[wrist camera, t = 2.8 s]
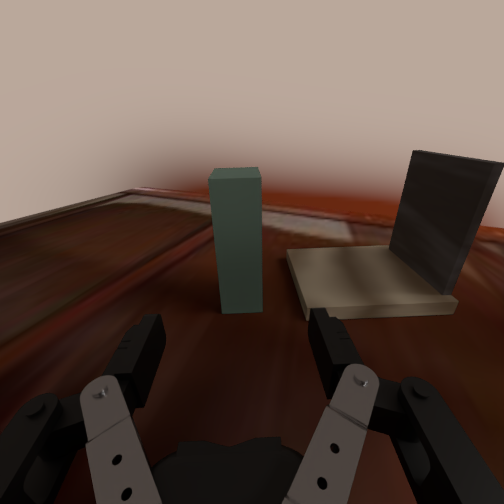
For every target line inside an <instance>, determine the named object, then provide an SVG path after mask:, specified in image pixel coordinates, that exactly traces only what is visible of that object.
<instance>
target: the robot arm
mask: <svg viewBox="0 0 504 504" xmlns="http://www.w3.org/2000/svg"><path fill="white" fill-rule="evenodd" d="M308 337H309V342H310V345H311V348H312V352H313V355H314V358H315V361H316V365H317V368H318V371H319V374H320V378H321V381H322V384H323V387H324V391H325V394H326V397H327V399H332V400H331V402H330V404H329V405H327V406H326V408H325V410H324V412H323V415H322V417H321V419H320V422H319V424H318V426H317V428H316V431H315V433H314V435H313V437H312V440H311V442H310V444H309V446H308V449H307V451H306V453H305V456H302V455H301V454H300V453H298V452H297V451H295V450H293V449H291V448H289V447H286V446H283V445H281V438H280V437H265V438H254V439H251V440H248V441H246V442H243V443H240V444H237V445H234V446H231V447H226V446H223V445H219V444H215V443H211V442H207V441H188V442H179V443H178V448H177V451H176V452H173V453H171V454H169V455H167V456H166V457H164V458H163V459H161V460H160V461H158V462H157V463H156V464H155V465H154V466H153V467H151V465H150V462H149V460H148V457H147V454H146V452H145V449H144V446H143V444H142V441H141V438H140V436H139V433H138V430H137V428H136V425H135V422H134V420H133V417H132V416H133V413H134V410H135V408H144V406H145V403H146V401H147V398H148V395H149V392H150V389H151V386H152V383H153V380H154V377H155V375H156V372H157V369H158V366H159V363H160V360H161V357H162V354H163V352H164V349H165V345H166V334H165V330H164V326H163V322H162V318H161V315H160V314H146V315H144V316H143V318H142V320H141V322H140V324H139V325H133V326H132V327H131V328H130V329H129V330H128V331H127V332H126V333H125V335H124V337H123V339H122V340H121V343H120V344H119V346H118V348H117V350H116V351H115V353H114V355H113V356H112V358H111V360H110V362H109V364H108V365H107V367H106V369H105V371H104V373H103V374H102V376H101V377H99V378H97V379H95V380H93V381H92V382H90V383H89V384H88V385H87V386H86V387H85V388H84V390H83V391H82V392H81V393H78V394H75V395H72V396H69V397H66V398H63V399H60V400H58V398H57V396H56V395H55V394H52V393H46V394H42V395H39V396H37V397H35V398H33V399H31V400H30V401H28V402H27V403H25V404H24V405H23V406H22V407H21V408H20V409H19V410H18V412H17V413H16V414H15V416H14V417H13V418H12V420H11V421H10V423H9V424H8V425H7V427H6V428H5V430H4V431H3V432H2V434H1V435H0V504H53V503H54V501H55V498H56V496H57V494H58V492H59V490H60V487H61V485H62V483H63V481H64V479H65V476H66V474H67V472H68V470H69V468H70V465H71V463H72V461H73V459H74V457H75V454H76V452H77V450H79V449H81V448H84V447H86V451H87V456H88V462H89V467H90V472H91V477H92V482H93V488H94V493H95V498H96V503H97V504H347V501H348V497H349V494H350V490H351V487H352V483H353V479H354V476H355V472H356V468H357V465H358V461H359V458H360V454H361V450H362V447H363V443H364V440H365V436H366V432H367V429H370V430H373V431H377V432H380V433H384V434H387V435H389V436H390V439H391V441H392V443H393V446H394V448H395V451H396V453H397V455H398V458H399V460H400V463H401V465H402V467H403V470H404V472H405V475H406V477H407V480H408V482H409V484H410V487H411V489H412V492H413V494H414V496H415V499H416V501H417V504H504V490H503V488H502V487H501V485H500V484H499V482H498V481H497V479H496V478H495V476H494V475H493V473H492V472H491V470H490V469H489V467H488V466H487V464H486V463H485V461H484V460H483V458H482V457H481V455H480V454H479V452H478V451H477V449H476V448H475V446H474V445H473V443H472V442H471V440H470V439H469V437H468V436H467V434H466V433H465V431H464V430H463V428H462V427H461V425H460V424H459V422H458V421H457V419H456V418H455V416H454V415H453V413H452V412H451V410H450V409H449V407H448V406H447V404H446V403H445V401H444V400H443V398H442V397H441V395H440V394H439V392H438V391H437V390H436V389H435V388H434V387H433V386H432V385H431V384H430V383H428V382H427V381H425V380H423V379H420V378H417V377H406V378H404V379H403V380H402V382H401V383H397V382H393V381H389V380H385V379H382V378H379V377H377V376H376V374H375V373H374V372H373V371H372V370H371V369H369V368H368V367H366V366H365V365H364V364H363V362H362V360H361V358H360V356H359V354H358V352H357V350H356V348H355V346H354V344H353V342H352V340H351V338H350V336H349V334H348V333H347V330H346V328H345V326H344V324H343V323H342V322H341V321H340V320H339V319H338V318H337V317H329V314H328V312H327V310H326V308H325V307H320V308H310V314H309V324H308Z"/></svg>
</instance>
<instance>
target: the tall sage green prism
mask: <svg viewBox="0 0 504 504" xmlns="http://www.w3.org/2000/svg"><path fill="white" fill-rule="evenodd" d="M208 182H209V193H210V202H211V212H212V221H213V231H214V241H215V250H216V260H217V269H218V279H219V289H220V298H221V308H222V314H230V313H254V312H263V300H262V198H261V197H262V195H261V175H260V172H259V170H258V167H249V168H248V167H247V168H218V169H217V168H216V169H214V170H213V172H212V174H211V175H210V177H209V179H208Z"/></svg>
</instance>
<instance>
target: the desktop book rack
mask: <svg viewBox="0 0 504 504" xmlns="http://www.w3.org/2000/svg"><path fill="white" fill-rule="evenodd" d="M503 167H504V163H502V162H495V161H488V160H481V159H475V158H468V157H461V156H455V155H448V154H441V153H435V152H428V151H422V150H413V152H412V156H411V160H410V164H409V168H408V172H407V176H406V180H405V184H404V189H403V192H402V196H401V201H400V204H399V209H398V212H397V216H396V221H395V225H394V229H393V233H392V237H391V241H390V245H386V246H361V247H335V248H310V249H287V258H286V259H287V262H288V266H289V269H290V272H291V275H292V278H293V281H294V284H295V287H296V290H297V293H298V297H299V300H300V303H301V306H302V309H303V312H304V315H305V318H306V321H309V314H310V308H320V307H325V308H326V310H327V312H328V314H329V317H337V318H338V319H357V318H380V317H402V316H425V315H448V314H454V312H455V309H456V307H457V305H458V302H459V301H458V300H456V299H455V298H454V297H453V296H451V293H452V291H453V289H454V286H455V284H456V281H457V279H458V276H459V274H460V272H461V269H462V267H463V264H464V262H465V259H466V257H467V255H468V252H469V250H470V247H471V245H472V242H473V240H474V238H475V235H476V233H477V230H478V228H479V225H480V223H481V221H482V218H483V216H484V213H485V211H486V208H487V206H488V203H489V201H490V199H491V196H492V194H493V192H494V189H495V187H496V184H497V182H498V179H499V177H500V175H501V172H502V170H503Z"/></svg>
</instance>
